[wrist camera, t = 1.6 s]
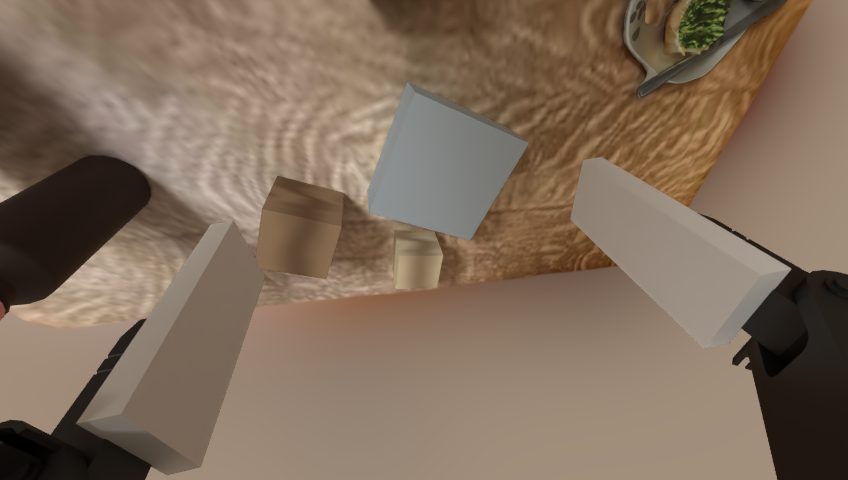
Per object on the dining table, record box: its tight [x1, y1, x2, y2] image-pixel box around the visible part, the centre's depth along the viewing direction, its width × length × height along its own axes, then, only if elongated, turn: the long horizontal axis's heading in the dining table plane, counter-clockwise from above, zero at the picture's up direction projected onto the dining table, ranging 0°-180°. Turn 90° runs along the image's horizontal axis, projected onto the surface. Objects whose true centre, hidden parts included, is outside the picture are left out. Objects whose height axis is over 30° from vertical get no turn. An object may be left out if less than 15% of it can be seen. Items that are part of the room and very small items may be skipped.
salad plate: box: [623, 0, 787, 98], centre depth 33 cm, size 19×18×5 cm
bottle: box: [0, 156, 151, 320], centre depth 27 cm, size 7×7×20 cm
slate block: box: [367, 82, 529, 240], centre depth 38 cm, size 14×14×6 cm
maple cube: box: [392, 231, 443, 289], centre depth 45 cm, size 6×6×6 cm
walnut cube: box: [255, 176, 344, 279], centre depth 38 cm, size 8×8×8 cm
